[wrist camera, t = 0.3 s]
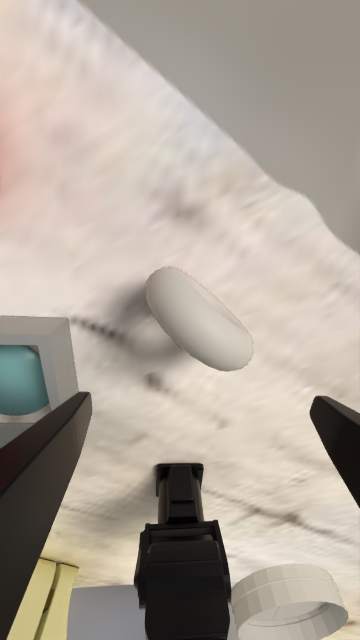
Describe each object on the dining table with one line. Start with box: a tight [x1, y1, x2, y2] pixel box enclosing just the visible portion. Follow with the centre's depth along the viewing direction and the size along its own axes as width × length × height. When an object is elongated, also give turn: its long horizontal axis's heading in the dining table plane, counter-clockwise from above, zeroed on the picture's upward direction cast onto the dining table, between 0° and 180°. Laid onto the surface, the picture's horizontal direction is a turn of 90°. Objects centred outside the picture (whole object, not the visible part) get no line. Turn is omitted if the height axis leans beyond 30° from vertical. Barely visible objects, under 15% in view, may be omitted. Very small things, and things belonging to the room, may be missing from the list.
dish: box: [231, 564, 348, 640], centre depth 45 cm, size 22×22×5 cm
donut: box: [145, 267, 254, 371], centre depth 17 cm, size 10×4×10 cm, turn 49°
